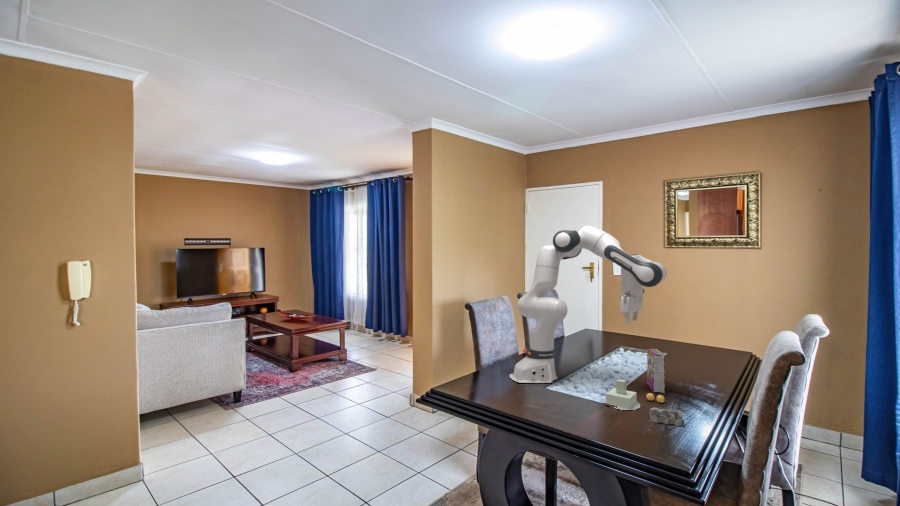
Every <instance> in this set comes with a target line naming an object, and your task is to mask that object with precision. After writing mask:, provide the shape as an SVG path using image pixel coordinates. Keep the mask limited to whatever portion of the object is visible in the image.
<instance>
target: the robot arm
mask: <svg viewBox="0 0 900 506" xmlns="http://www.w3.org/2000/svg"><path fill="white" fill-rule="evenodd" d="M582 249H585V250H587V251H589V252H591V253H592V254H594V255H596V256H598V257H600V258H602V259H604V260H607V261H610V262H613V263H614V264H615V265H617V266H619V267H620V277H621V281H620V294H621V295H622V296H621V298H620V307H619V309H620V313H621V314H622V315H624V318H625V324H631V323H632V321H635V322H636V321H638V315H639V311H640V310H642V309H643V305H644V303H643V302H644V294H645V288H652V287H656V286H658V285H659V284H660V283H661V282H663V281H664V280H665V279H666V277H667V274H668V273H667V269H666V267H665V266H664V264H662V263H660V262H658V261H654V260H652V259H651V260H650V259H648V258H646V257H644V256H642V255H641V254H640V253H635V254H629V253H627V252H626V251H624V250H623V249H622V247H621V243H620V241H619V240H618V239H617V238H616V237H614V236H613V235H612V234H610V233H608V232H606V231H604V230H602V229H600V228H597V227H595V226H592V225H585V226H582V227H581V229H579V231H577V230H573V229H563V230H562V229H561V230H559V231H557V232H556V233H555V234H554V235H553V237H552V244H551V245H544V246H542V247H540V250H539V252H538V255H537V258H536V262H535V263H536V264H535V269H534V273H533V274H534V275H533V281H532V283H531V285H530V287H529V289H528V291H527V292H526V293H525V294H524V295H523V296H521V297H520V298H519V299H518V302H517V305H516V306H517V312H518V313H519V314H520V315H521V316H523V317H525V318H528V319H533V320H538V326H536V327H534V328H532V330H530V332H529V348H528V349H527V348H525V347H524V348H523V349H522V352H523V353H524V354H525V355H526V356H525V357H523V358H521V360H520V361H518V362H517V363H516V364H515V366H514V369H513V373H510V374H509V377H510V378H511V379H512V380H514V381H516V382H519V383H551V382H552V381H553V380H555V379H557V380H558V376H557V371H556V365H555V360H556V359H555V358H556V353H555V350H556V349H555V346H554V344H555V343H554V342H555V334H556V333H555V332H556V329H557V327H558V325H559V324H560V322H562V321H564V319H566V317H567V315H568V311H569V310H568V305H567V303H566V302H565V301H564V300H563V299H561V298H556V297H550V296H547V294H548V292H550V291H551V290H553V289H554V288H556V286H557V285H558V278H559V272H560V265H561V261H562V260H567V259H573V258H574V259H575V258H577V257H578V256H579V255H580V254H581V253H582ZM643 287H645V288H643ZM631 314H632V316H631ZM631 317H632V318H631ZM510 378H509V379H510ZM512 380H511V381H512ZM552 383H553V382H552Z"/></svg>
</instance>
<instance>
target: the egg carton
mask: <svg viewBox="0 0 900 506" xmlns="http://www.w3.org/2000/svg"><path fill="white" fill-rule="evenodd" d="M682 413H683V412H682V411H681V410H679V409H678V410H670V409H669V408H668V409H664V408H658V407H655V406H654V407H651V408H650V409H649V415H648V416H649V418H650V420H649V421H650V422H653V423H655V424H658V423H662V424H664V425H674V426H676V427H680V426H683V419H684V418H683V414H682Z"/></svg>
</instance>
